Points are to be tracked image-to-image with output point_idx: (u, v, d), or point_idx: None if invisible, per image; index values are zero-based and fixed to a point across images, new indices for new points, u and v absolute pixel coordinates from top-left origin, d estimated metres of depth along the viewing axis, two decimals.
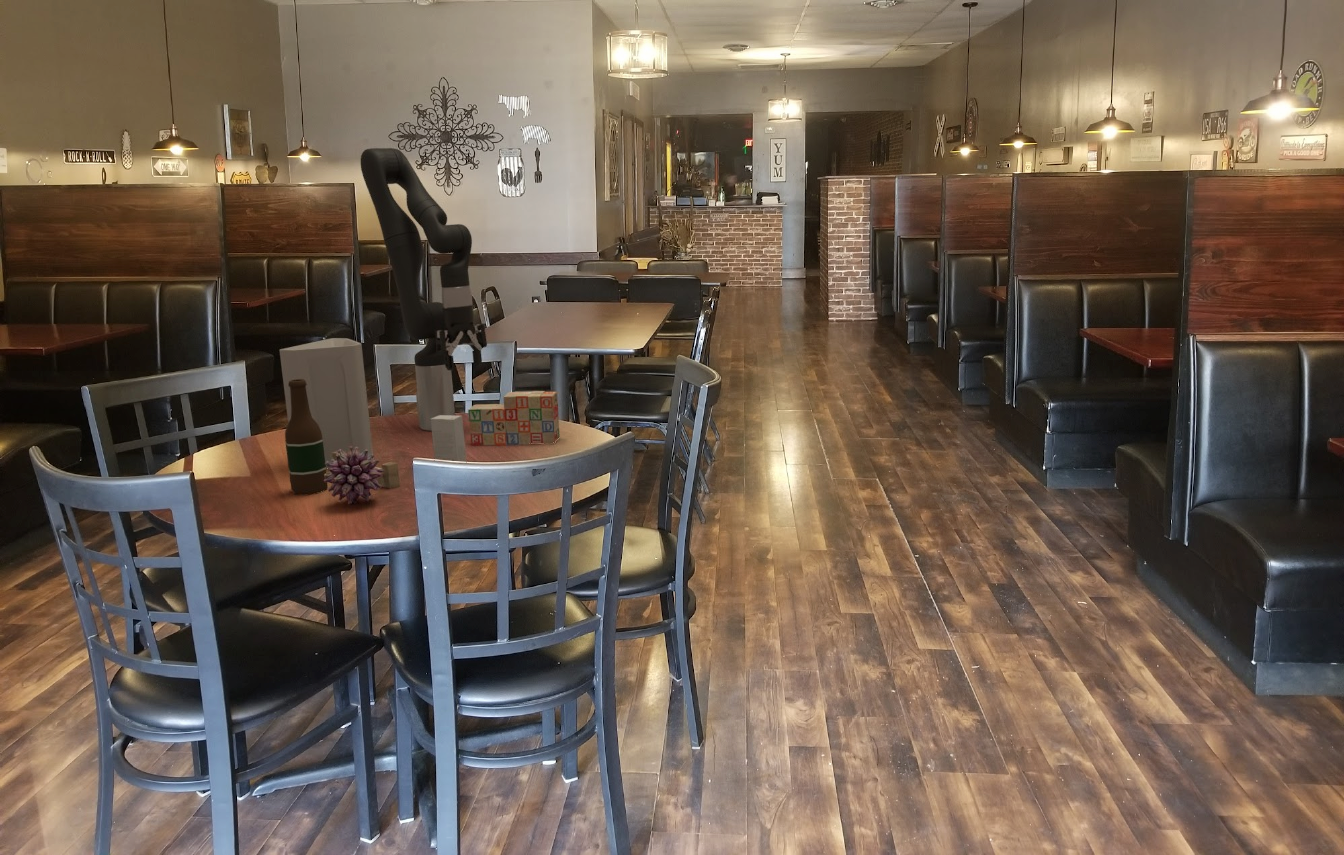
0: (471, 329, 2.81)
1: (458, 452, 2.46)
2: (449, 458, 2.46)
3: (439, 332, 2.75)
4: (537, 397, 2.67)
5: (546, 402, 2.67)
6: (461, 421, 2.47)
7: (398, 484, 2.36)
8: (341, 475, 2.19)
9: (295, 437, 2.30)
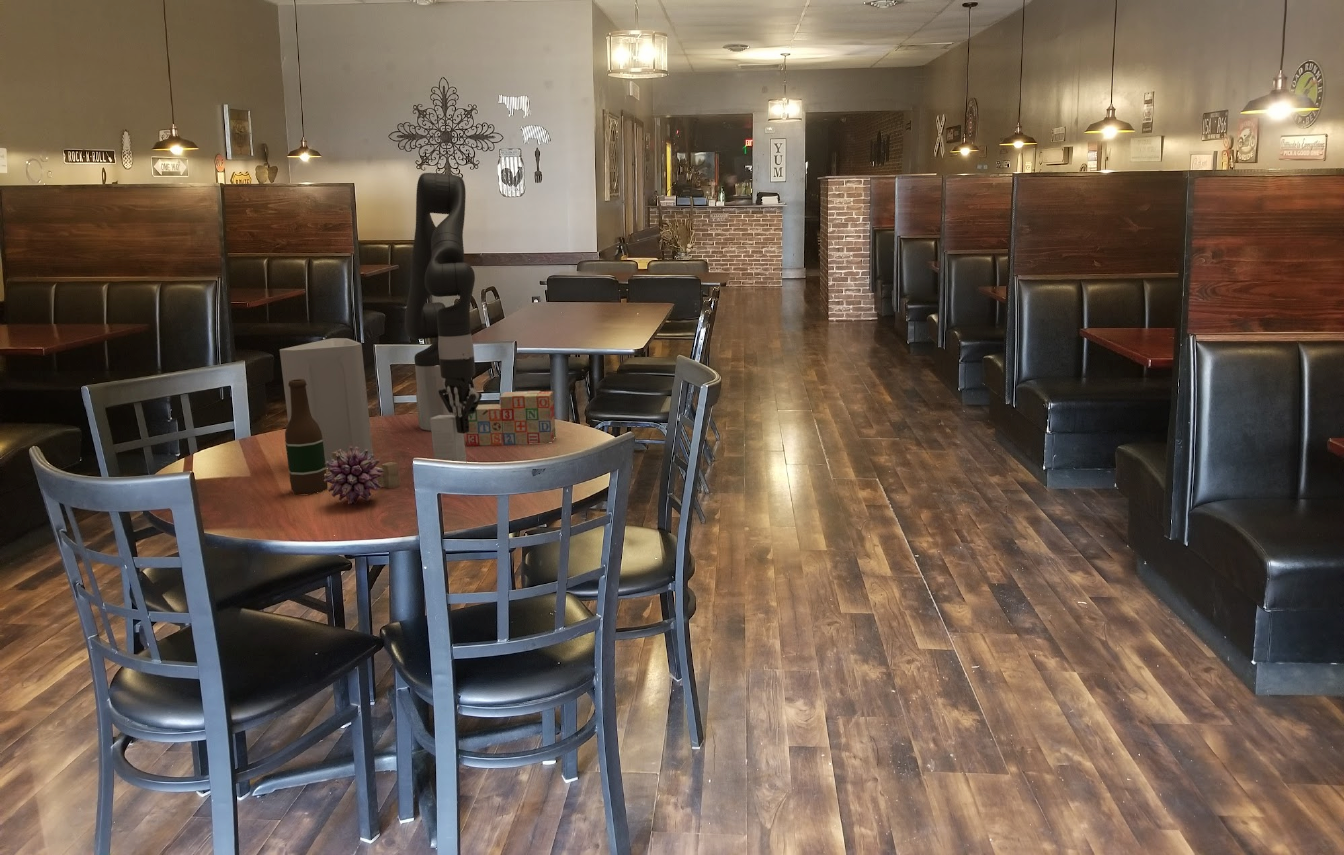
0: None
1: (458, 452, 2.46)
2: (449, 458, 2.46)
3: (478, 397, 2.38)
4: (534, 397, 2.68)
5: (542, 402, 2.68)
6: None
7: (398, 484, 2.36)
8: (341, 475, 2.19)
9: (295, 437, 2.30)
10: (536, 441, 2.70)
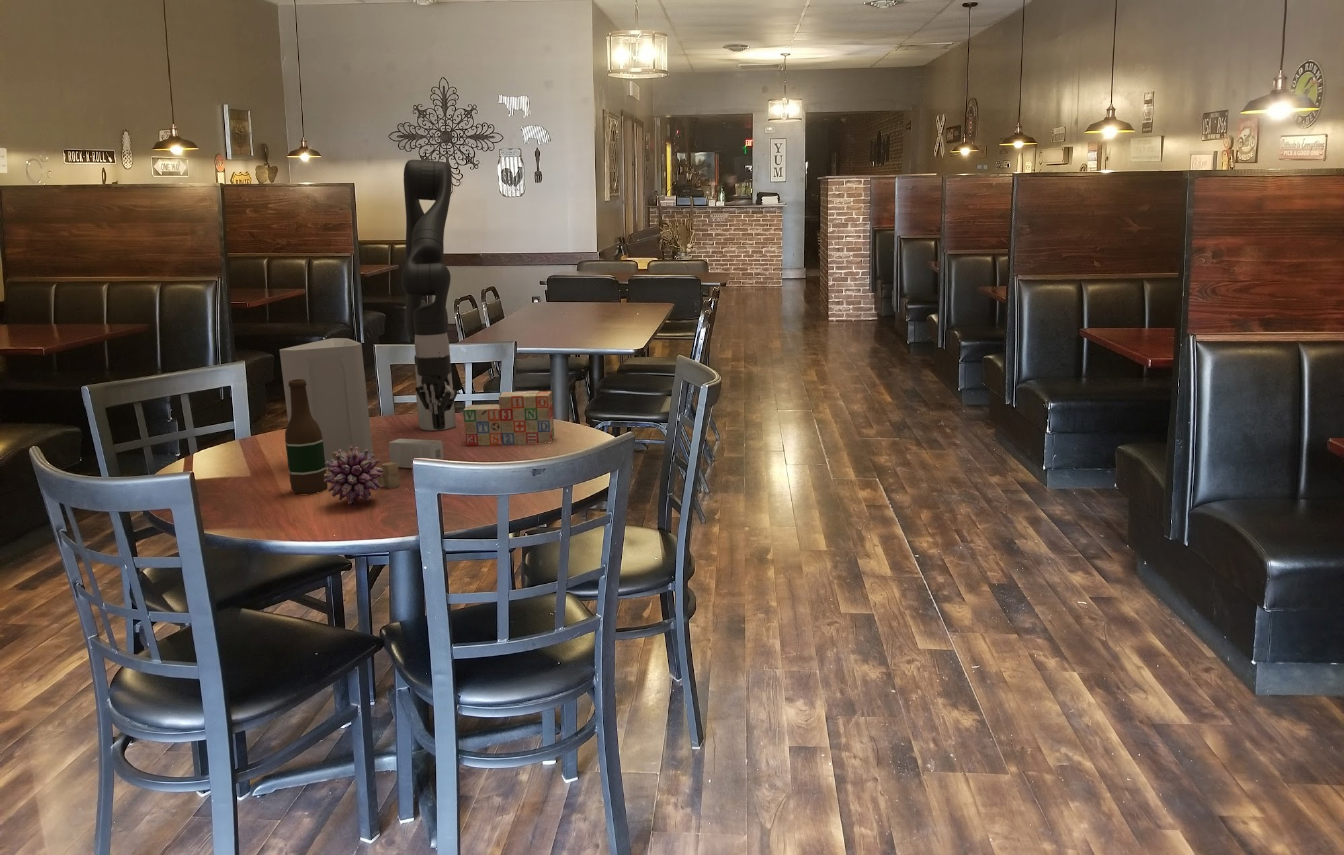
0: None
1: (419, 442, 2.49)
2: (422, 452, 2.49)
3: (454, 394, 2.44)
4: (533, 397, 2.68)
5: (541, 402, 2.68)
6: (401, 439, 2.54)
7: (398, 484, 2.36)
8: (341, 475, 2.19)
9: (295, 437, 2.30)
10: (535, 441, 2.70)
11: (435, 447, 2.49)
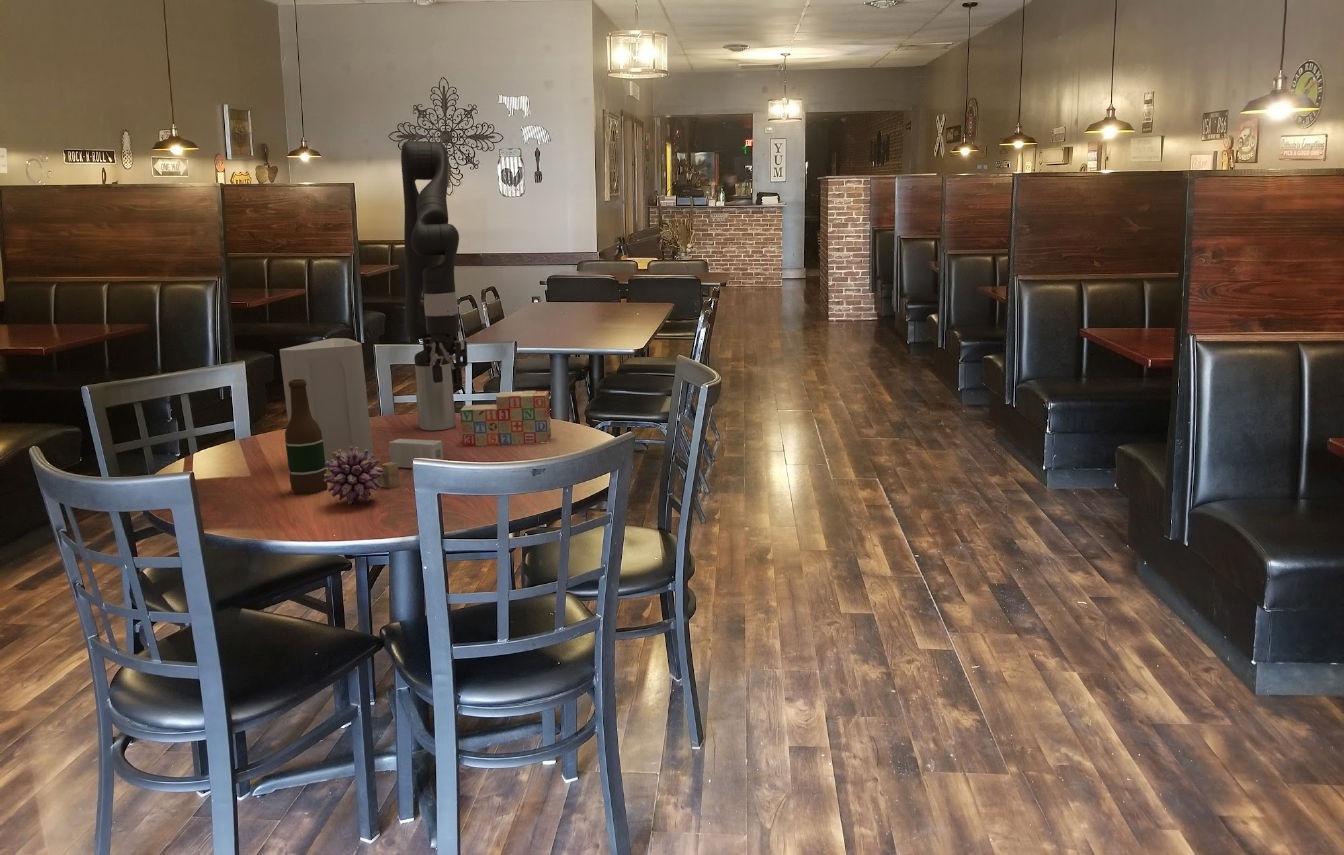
0: None
1: (419, 442, 2.49)
2: (422, 452, 2.49)
3: (464, 343, 2.50)
4: (530, 397, 2.68)
5: (539, 401, 2.68)
6: (401, 439, 2.54)
7: (398, 484, 2.36)
8: (341, 475, 2.19)
9: (295, 437, 2.30)
10: (532, 441, 2.70)
11: (435, 447, 2.49)
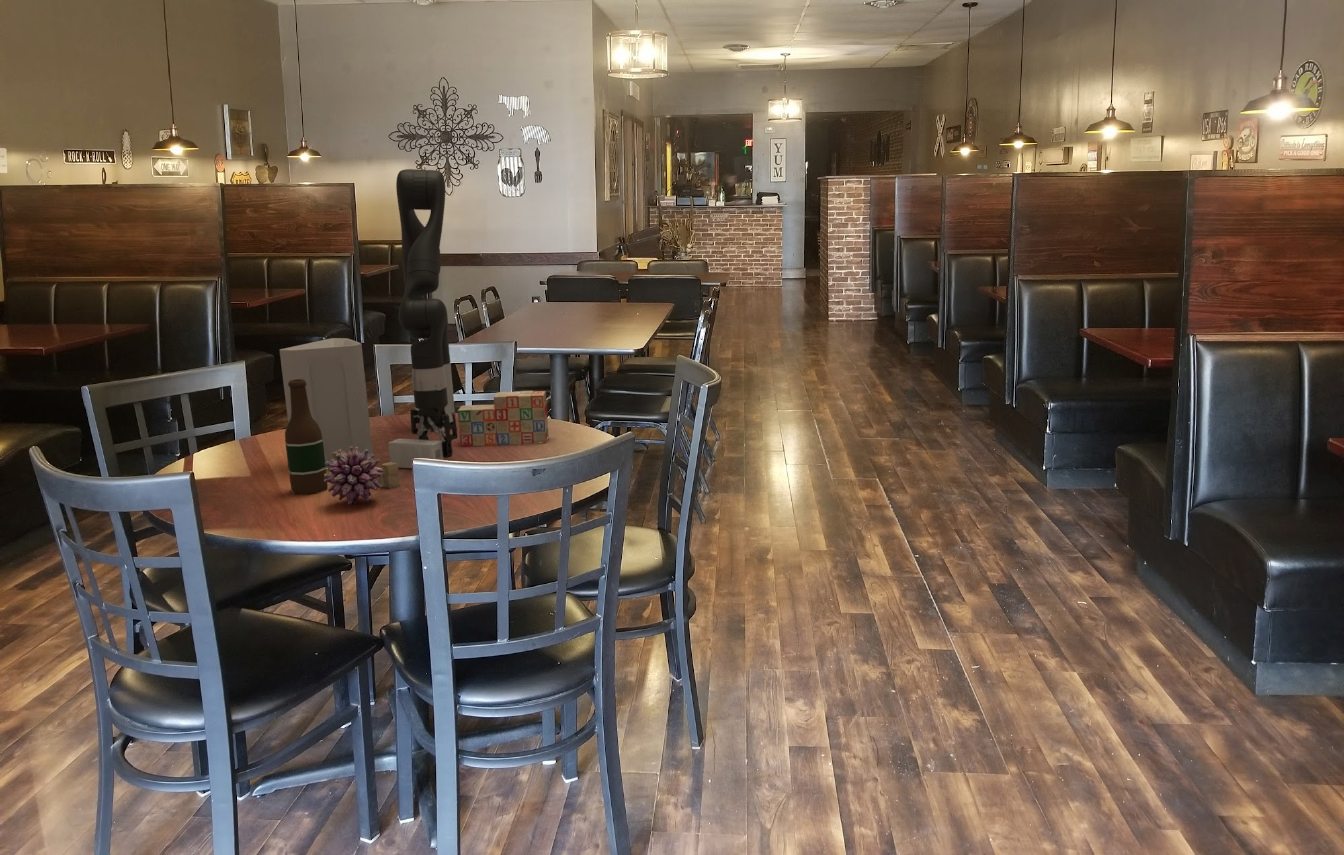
0: None
1: (419, 443, 2.49)
2: (422, 452, 2.49)
3: (452, 415, 2.49)
4: (528, 397, 2.68)
5: (537, 401, 2.69)
6: (401, 439, 2.54)
7: (398, 484, 2.36)
8: (341, 475, 2.19)
9: (295, 437, 2.30)
10: (530, 441, 2.71)
11: (435, 447, 2.48)
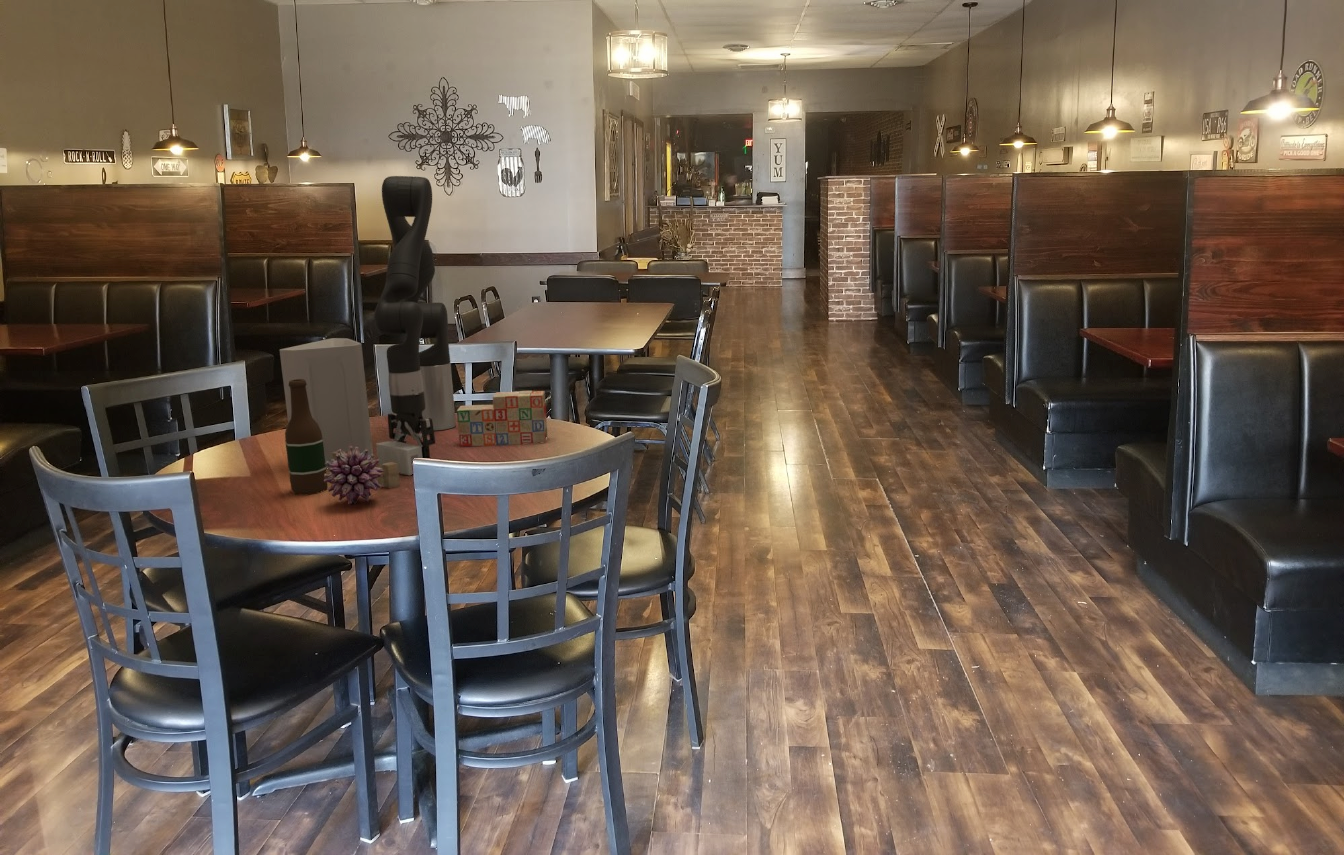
0: None
1: (399, 447, 2.46)
2: (399, 456, 2.45)
3: (429, 420, 2.45)
4: (527, 397, 2.68)
5: (536, 401, 2.69)
6: (391, 441, 2.52)
7: (398, 484, 2.36)
8: (341, 475, 2.19)
9: (295, 437, 2.30)
10: (529, 441, 2.71)
11: (411, 452, 2.44)
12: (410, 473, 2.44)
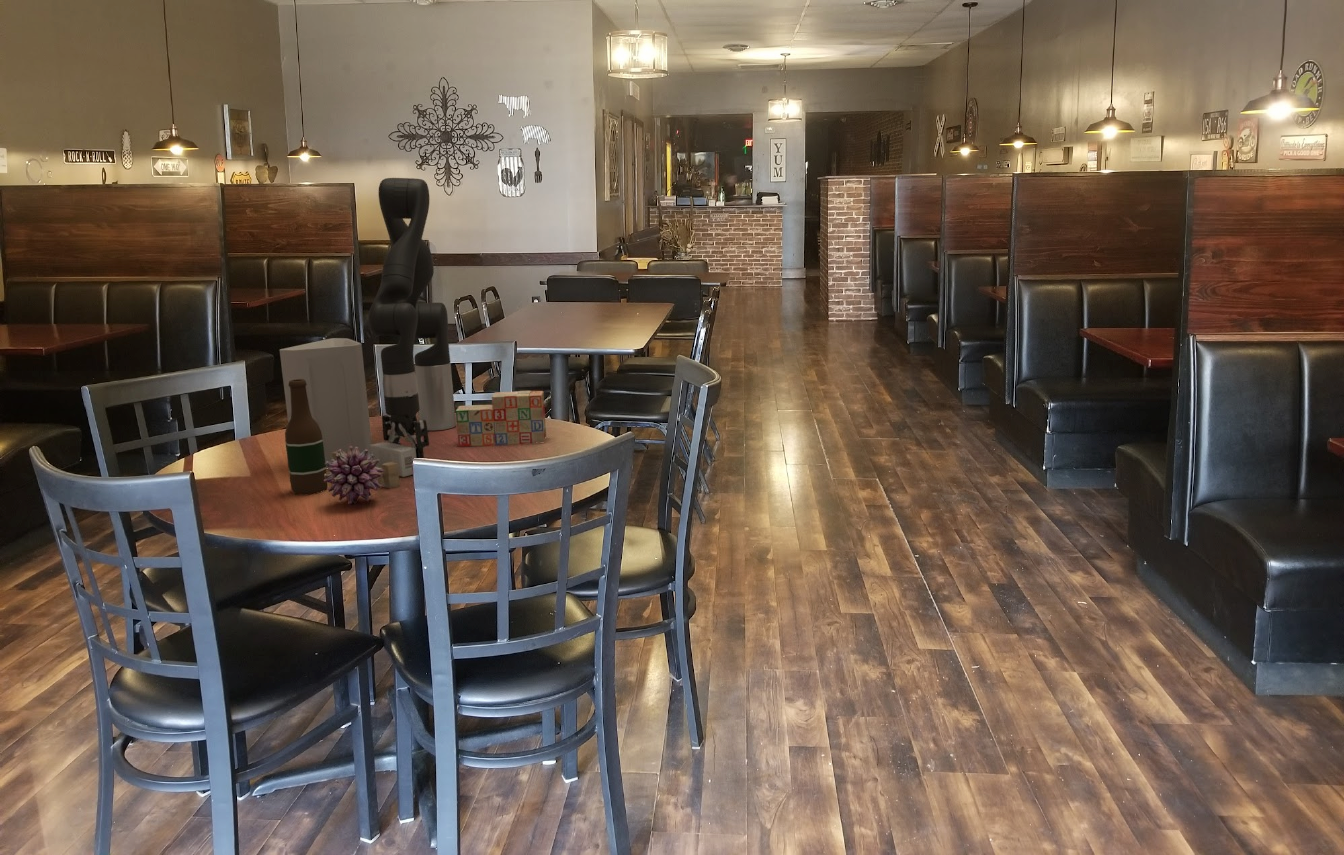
0: None
1: (393, 448, 2.45)
2: (393, 458, 2.44)
3: (423, 422, 2.44)
4: (526, 397, 2.69)
5: (535, 401, 2.69)
6: (385, 442, 2.51)
7: (398, 484, 2.36)
8: (341, 475, 2.19)
9: (295, 437, 2.30)
10: (528, 441, 2.71)
11: (405, 454, 2.43)
12: (404, 475, 2.43)
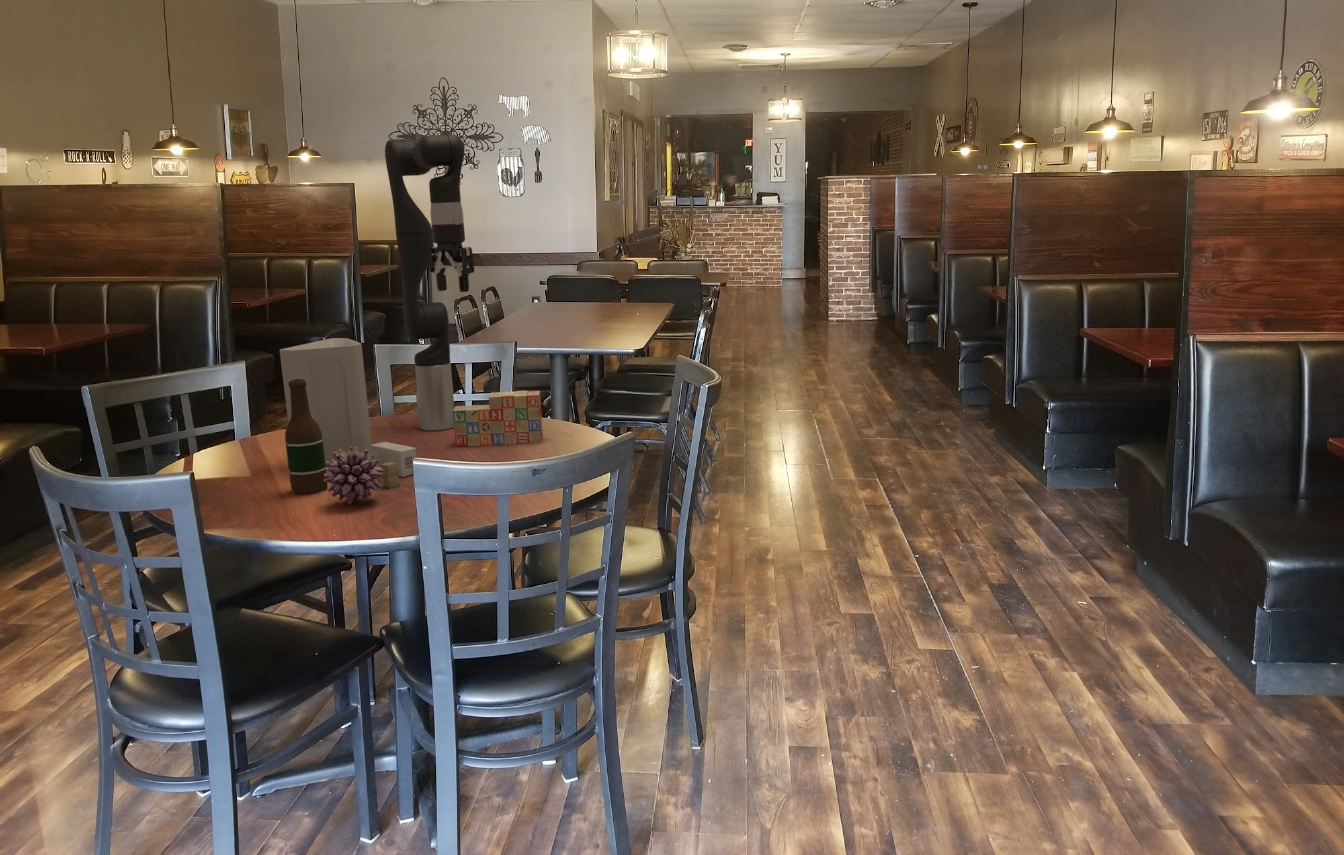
0: None
1: (393, 448, 2.45)
2: (394, 457, 2.44)
3: (469, 249, 2.56)
4: (523, 396, 2.69)
5: (532, 401, 2.69)
6: (386, 442, 2.51)
7: (398, 484, 2.36)
8: (341, 475, 2.19)
9: (295, 437, 2.30)
10: (526, 440, 2.71)
11: (405, 454, 2.43)
12: (404, 474, 2.43)
